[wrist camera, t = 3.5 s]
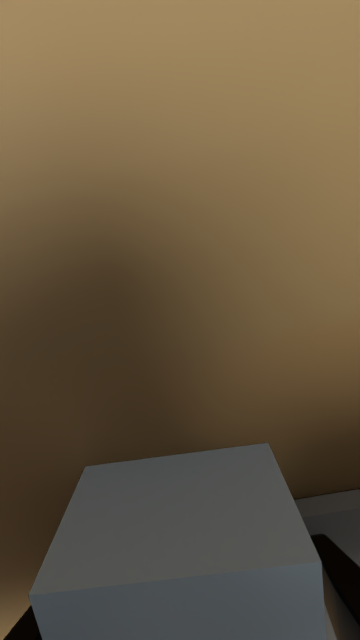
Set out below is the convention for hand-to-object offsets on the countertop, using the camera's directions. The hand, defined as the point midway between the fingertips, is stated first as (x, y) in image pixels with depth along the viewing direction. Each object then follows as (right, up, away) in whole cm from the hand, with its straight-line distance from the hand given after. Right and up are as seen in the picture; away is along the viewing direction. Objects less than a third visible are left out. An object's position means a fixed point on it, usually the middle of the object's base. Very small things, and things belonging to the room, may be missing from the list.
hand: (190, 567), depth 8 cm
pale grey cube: (0, 0, +1) cm, 1 cm away
